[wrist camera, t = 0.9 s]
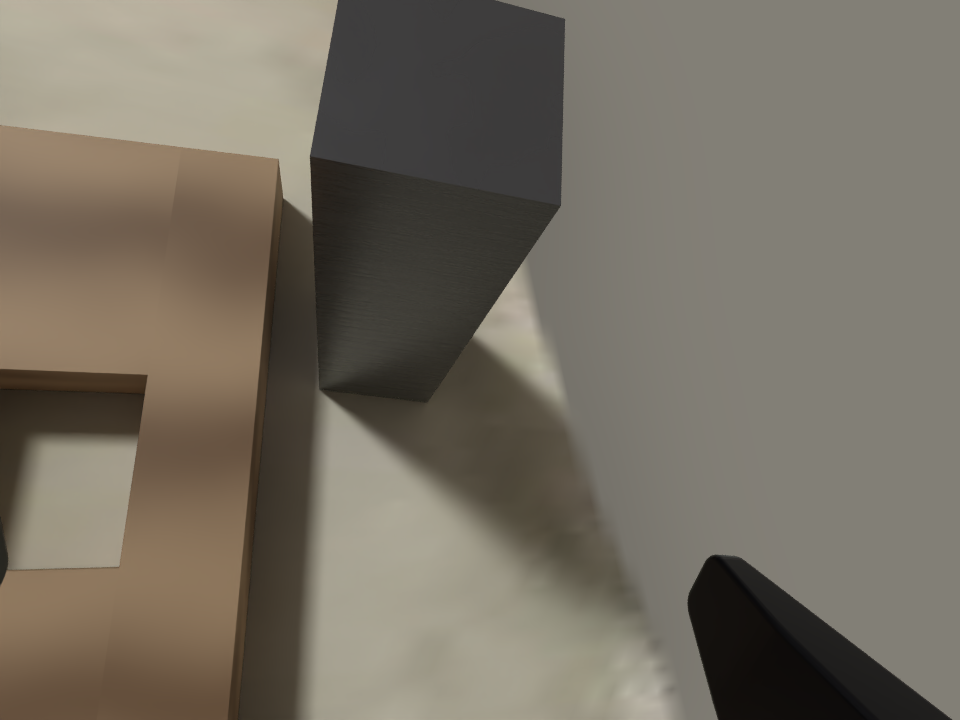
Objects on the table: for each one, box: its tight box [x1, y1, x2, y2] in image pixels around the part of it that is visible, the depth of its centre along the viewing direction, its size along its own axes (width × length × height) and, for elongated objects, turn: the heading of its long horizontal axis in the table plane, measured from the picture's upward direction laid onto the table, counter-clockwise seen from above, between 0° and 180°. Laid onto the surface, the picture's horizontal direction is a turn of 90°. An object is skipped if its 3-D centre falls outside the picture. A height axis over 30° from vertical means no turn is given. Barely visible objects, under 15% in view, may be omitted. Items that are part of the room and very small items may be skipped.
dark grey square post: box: [310, 0, 565, 402], centre depth 17 cm, size 4×4×14 cm
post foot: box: [0, 125, 283, 720], centre depth 18 cm, size 22×12×2 cm, turn 1°
